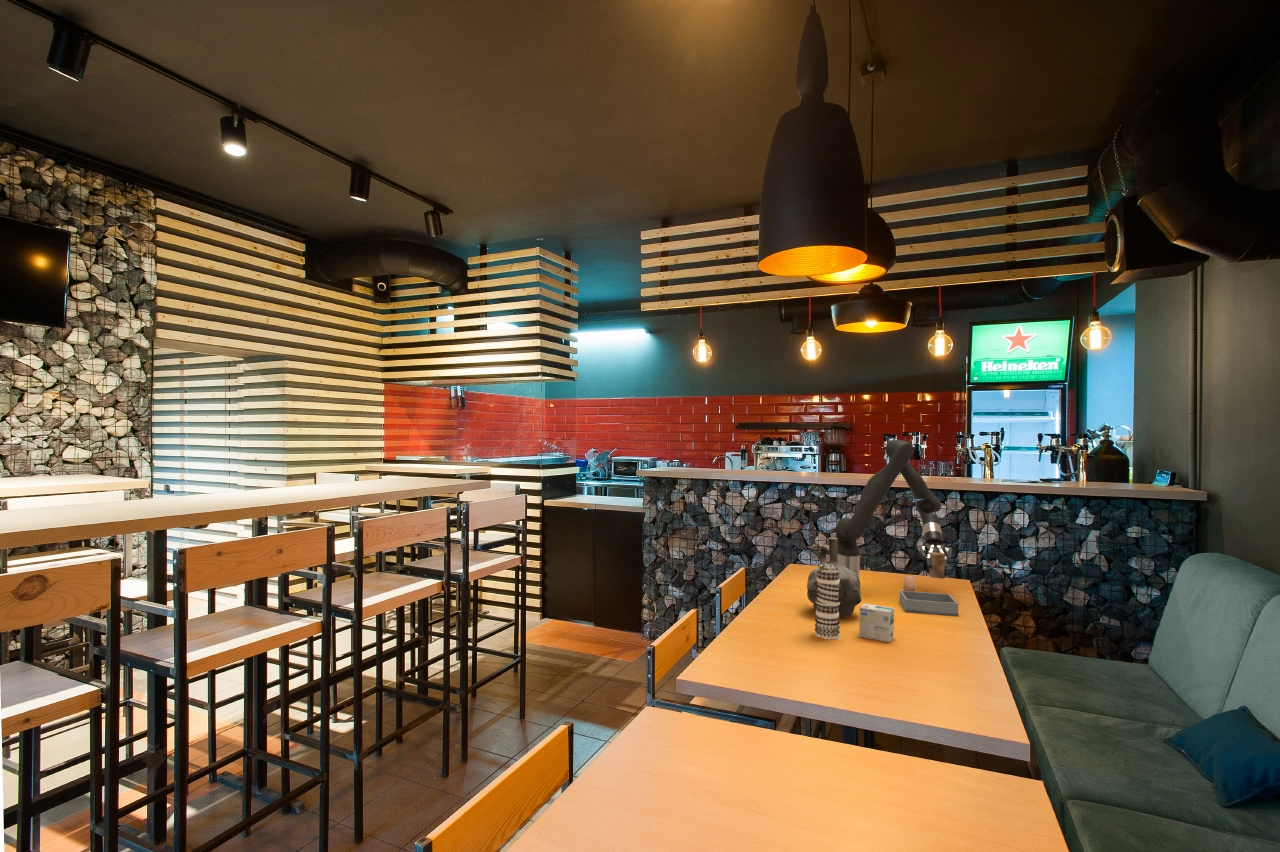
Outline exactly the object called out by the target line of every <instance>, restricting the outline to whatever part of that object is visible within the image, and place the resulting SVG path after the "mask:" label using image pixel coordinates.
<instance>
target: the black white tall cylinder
mask: <svg viewBox="0 0 1280 852" xmlns="http://www.w3.org/2000/svg"><path fill="white" fill-rule="evenodd" d="M818 567H819V568H818ZM818 567H817V568H816V569H817V581H816V582H815V586H817V587H816V588H815V591H816V592H815V595H816V596H817V597H816V598H815V600H816V603H817V609H816V611H815V614H814V617H815V619H814V621H815V624H814V631H815V632H814V635H815V637H817V636H818V637H817V638H819V637H821V638H820V639H823V638H824V640H838V639H839V638H840V633H841V632H840V631H841V630H840V629H841V627H840V622H841V621H840V620H841V617H839V611H838V610H839V605H840V601H841V600H840V599H839V598H840V597H841V596H840V595H839V594H838V593H839V592H841V590H840V589H839V588H840V587H841V585H840V584H839V583H840V579H839V571H840V570H839V569H838V568H837V566H835V565H832V564H828V563H827V564H821V565H820V564H819V566H818ZM817 584H818V585H817ZM837 638H838V639H837Z"/></svg>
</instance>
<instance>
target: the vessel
mask: <svg viewBox="0 0 1280 852" xmlns="http://www.w3.org/2000/svg"><path fill="white" fill-rule="evenodd" d="M837 546H838V538H836V537H828V544H823V545H822V546H821V548H820V551H819V566H820V565H821V564H832V565H835V566H837V568H838V569H839V570H840V571H839V579H840V583H839V584H840V585H841V587H840V588H839V589H840V590H841V592H839V593H838V594H839V595H840V596H841V597H840V598H839V599H840V600H841V601H840V605H839V610H838V611H839V617H840V618H845V617H849V616H851V615H853V613H854V611H855V608H856V606H858V605H859V604H861V602H862V596H861V580H860V576H859V577H858V576H857V574H856V573H855V572H853V571H851V570H849V569H848V568H846V567H844V566H841V565H839V563H838V548H837ZM827 554H828V555H829V560H828V561H827ZM819 566H818V567H817V568H819ZM817 568H816V569H812V570H811V571H810V573H809V575H808V578H807V583H806V584H807V585H806V588H807V593H806V595H807V599H808V600H809V602H811V603H812V604H813V610H814V611H815V612H816V609H817V603H816V600H815V598H816V597H817V596H816V595H815V592H816V591H815V588H816V587H817V586H815V582H816V581H817ZM817 585H818V584H817Z"/></svg>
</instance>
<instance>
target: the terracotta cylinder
mask: <svg viewBox="0 0 1280 852" xmlns="http://www.w3.org/2000/svg"><path fill="white" fill-rule="evenodd" d="M902 577H903V578H902V579H903V580H902V582H903V583H902V591H913V592H917V591H916V588H917V587H916V585H917V584H916V583H917V576H916V575H911V574H904V575H903V576H902Z"/></svg>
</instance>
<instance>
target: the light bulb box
mask: <svg viewBox="0 0 1280 852" xmlns="http://www.w3.org/2000/svg"><path fill="white" fill-rule="evenodd" d="M858 634H859V635H858V636H860V637H859V638H863V637H864V638H865V639H871V640H874V641H881V642H886V643H891V641H893V639H894V638H895V636H894V635H895V608H894V607H890V606H882V605H877V604H876V605H875V604H869V603H865V602H864V603H863V604H862V605H861V606H859V633H858ZM864 638H863V639H864Z"/></svg>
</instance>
